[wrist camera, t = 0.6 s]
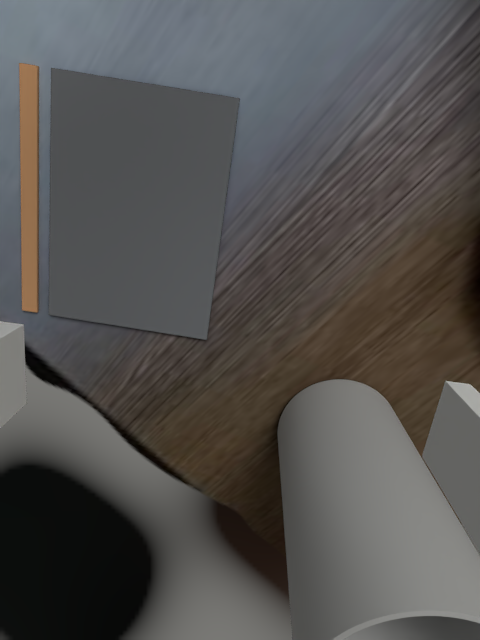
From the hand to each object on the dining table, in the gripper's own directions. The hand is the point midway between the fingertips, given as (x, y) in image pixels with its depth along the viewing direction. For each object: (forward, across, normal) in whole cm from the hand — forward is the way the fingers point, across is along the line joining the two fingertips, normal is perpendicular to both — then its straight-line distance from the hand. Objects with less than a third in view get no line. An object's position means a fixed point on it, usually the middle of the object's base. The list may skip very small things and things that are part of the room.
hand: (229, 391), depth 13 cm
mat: (+28, -11, +2) cm, 30 cm away
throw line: (+28, -21, +2) cm, 35 cm away
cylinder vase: (+28, +12, -18) cm, 35 cm away
